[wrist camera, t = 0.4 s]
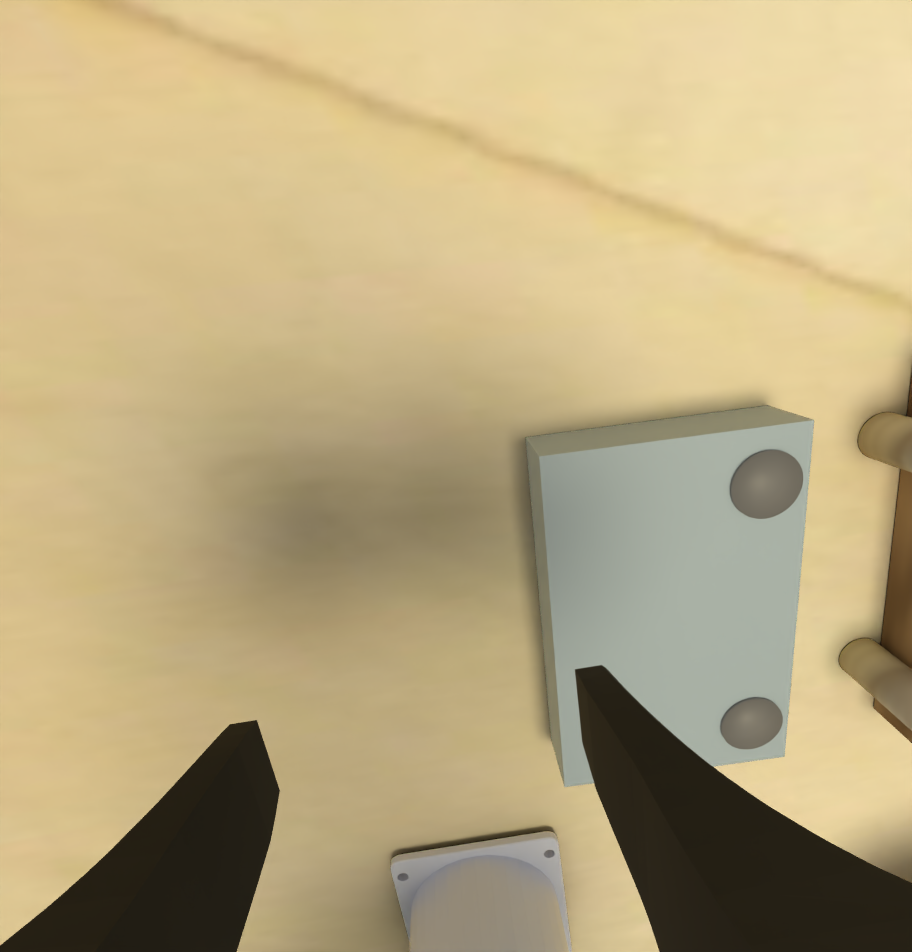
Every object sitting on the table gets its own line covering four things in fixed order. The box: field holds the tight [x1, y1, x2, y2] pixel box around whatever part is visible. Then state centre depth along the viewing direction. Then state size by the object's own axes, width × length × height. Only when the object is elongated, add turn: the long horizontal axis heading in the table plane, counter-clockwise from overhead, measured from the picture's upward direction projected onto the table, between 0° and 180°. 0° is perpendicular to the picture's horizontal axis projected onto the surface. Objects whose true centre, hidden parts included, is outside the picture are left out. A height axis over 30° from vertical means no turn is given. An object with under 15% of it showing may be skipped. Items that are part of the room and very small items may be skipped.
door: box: [526, 405, 814, 787], centre depth 21 cm, size 14×9×3 cm, turn 7°
